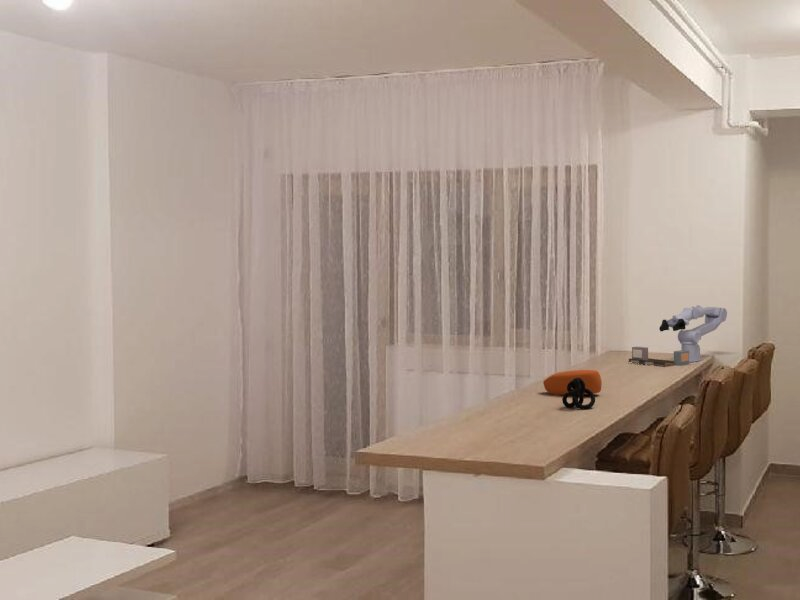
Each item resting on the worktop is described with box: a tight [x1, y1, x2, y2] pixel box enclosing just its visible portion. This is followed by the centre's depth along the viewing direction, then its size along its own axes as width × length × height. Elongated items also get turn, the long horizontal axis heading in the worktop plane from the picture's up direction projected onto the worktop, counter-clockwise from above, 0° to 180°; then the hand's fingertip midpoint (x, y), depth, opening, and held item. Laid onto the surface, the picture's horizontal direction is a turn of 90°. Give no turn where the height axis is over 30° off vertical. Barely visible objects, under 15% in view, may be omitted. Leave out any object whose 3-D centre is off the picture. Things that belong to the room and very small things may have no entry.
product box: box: [673, 349, 690, 367], centre depth 539 cm, size 4×7×7 cm, turn 128°
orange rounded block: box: [542, 369, 602, 396], centre depth 455 cm, size 12×11×25 cm
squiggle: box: [561, 377, 596, 410], centre depth 424 cm, size 11×10×15 cm
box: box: [631, 346, 649, 361], centre depth 549 cm, size 4×7×7 cm, turn 39°
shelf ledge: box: [628, 357, 675, 368], centre depth 544 cm, size 8×22×2 cm, turn 38°
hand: (666, 329), depth 538 cm, fingers open, 7 cm apart
